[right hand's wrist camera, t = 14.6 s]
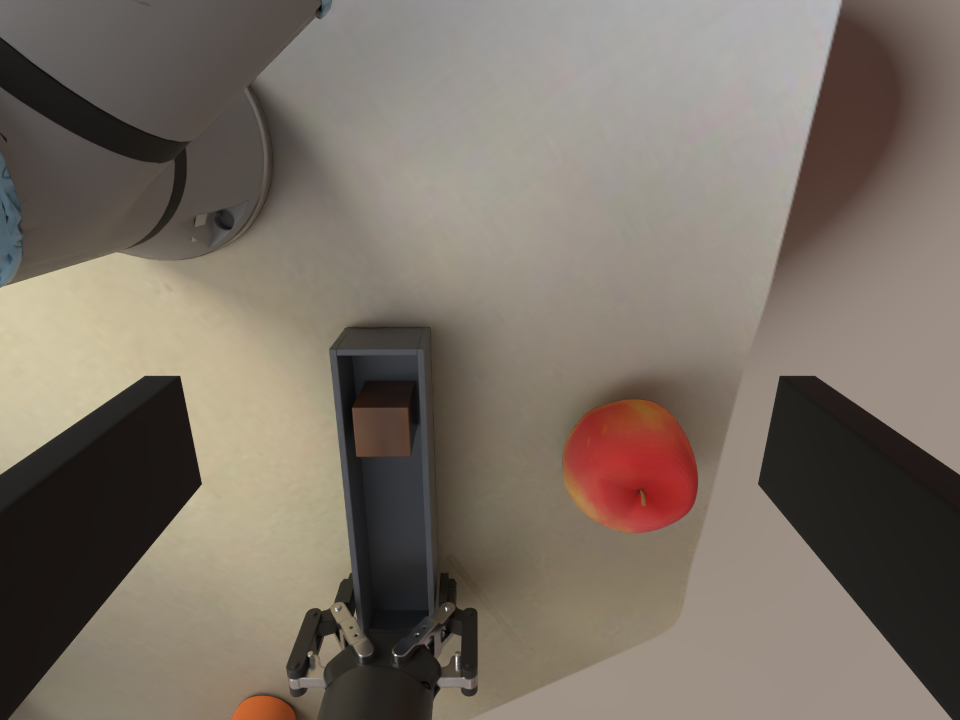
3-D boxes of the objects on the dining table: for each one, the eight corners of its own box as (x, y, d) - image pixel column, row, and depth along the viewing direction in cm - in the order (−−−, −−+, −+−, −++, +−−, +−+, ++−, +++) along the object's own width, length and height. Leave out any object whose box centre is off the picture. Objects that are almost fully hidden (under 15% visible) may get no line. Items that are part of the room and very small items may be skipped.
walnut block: (368, 425, 46) (356, 457, 42) (365, 380, 45) (351, 407, 40) (417, 425, 46) (410, 457, 42) (415, 380, 45) (408, 407, 40)
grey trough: (370, 609, 54) (360, 653, 49) (345, 327, 44) (328, 349, 39) (440, 609, 54) (436, 653, 49) (430, 327, 44) (424, 348, 39)
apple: (568, 368, 45) (592, 427, 36) (685, 385, 45) (738, 447, 36) (545, 472, 48) (560, 551, 39) (653, 487, 49) (695, 568, 39)
